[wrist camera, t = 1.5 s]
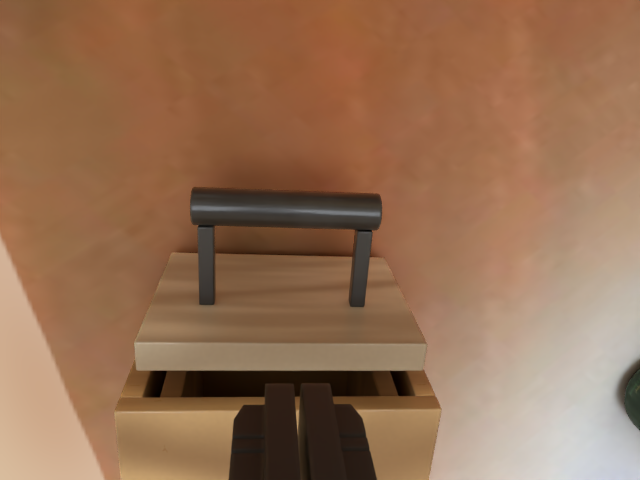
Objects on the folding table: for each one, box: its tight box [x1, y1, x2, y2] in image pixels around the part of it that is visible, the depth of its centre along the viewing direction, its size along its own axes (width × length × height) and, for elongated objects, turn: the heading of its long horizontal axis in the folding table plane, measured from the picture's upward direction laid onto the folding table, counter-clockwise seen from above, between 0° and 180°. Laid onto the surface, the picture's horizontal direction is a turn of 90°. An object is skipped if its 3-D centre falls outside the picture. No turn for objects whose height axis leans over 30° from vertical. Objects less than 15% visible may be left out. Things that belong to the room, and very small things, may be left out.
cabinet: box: [114, 360, 442, 480], centre depth 26 cm, size 15×12×10 cm
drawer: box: [134, 187, 427, 397], centre depth 24 cm, size 18×10×8 cm, turn 176°
